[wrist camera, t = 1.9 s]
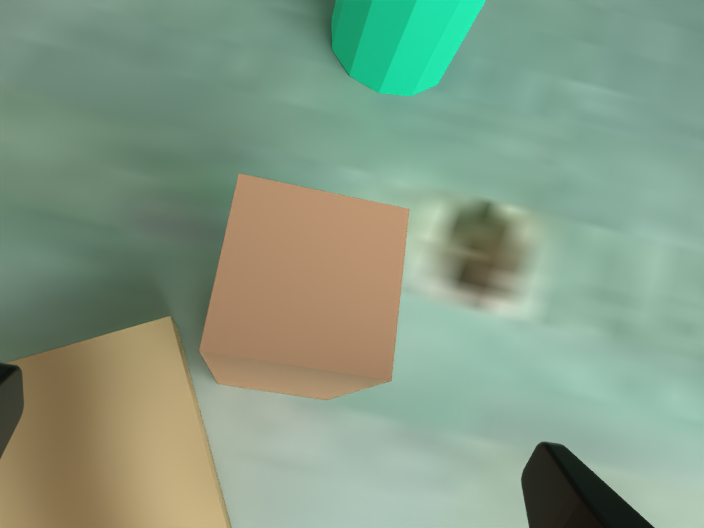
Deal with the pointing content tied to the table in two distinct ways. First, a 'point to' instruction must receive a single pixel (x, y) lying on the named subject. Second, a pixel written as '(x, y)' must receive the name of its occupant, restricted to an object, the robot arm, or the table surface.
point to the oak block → (111, 438)
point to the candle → (400, 40)
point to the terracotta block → (305, 291)
